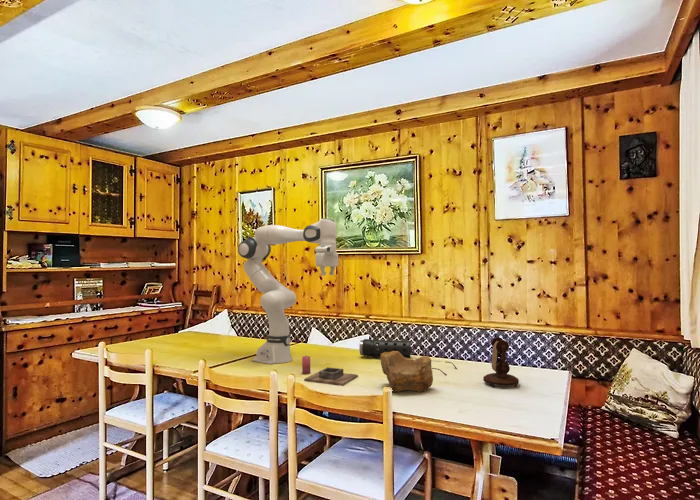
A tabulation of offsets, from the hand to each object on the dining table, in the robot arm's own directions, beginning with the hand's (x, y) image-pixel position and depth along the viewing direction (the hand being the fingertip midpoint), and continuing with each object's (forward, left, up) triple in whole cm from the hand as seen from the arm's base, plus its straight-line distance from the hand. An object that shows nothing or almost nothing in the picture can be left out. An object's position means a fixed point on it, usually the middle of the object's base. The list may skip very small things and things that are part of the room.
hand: (327, 275), depth 232 cm
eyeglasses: (+53, +13, -48) cm, 73 cm away
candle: (-3, -18, -47) cm, 51 cm away
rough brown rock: (+49, -25, -48) cm, 73 cm away
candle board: (+13, -22, -47) cm, 54 cm away
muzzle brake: (+21, +28, -48) cm, 59 cm away
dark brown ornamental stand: (+86, -1, -48) cm, 98 cm away
